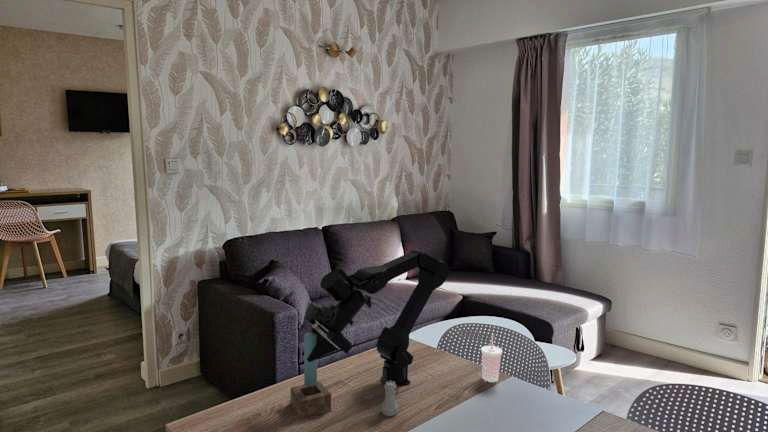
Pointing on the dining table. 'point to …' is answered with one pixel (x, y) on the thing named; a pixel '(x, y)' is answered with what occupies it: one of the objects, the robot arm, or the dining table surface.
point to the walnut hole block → (310, 399)
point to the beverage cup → (491, 362)
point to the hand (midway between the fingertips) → (305, 358)
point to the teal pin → (311, 367)
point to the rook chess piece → (390, 400)
